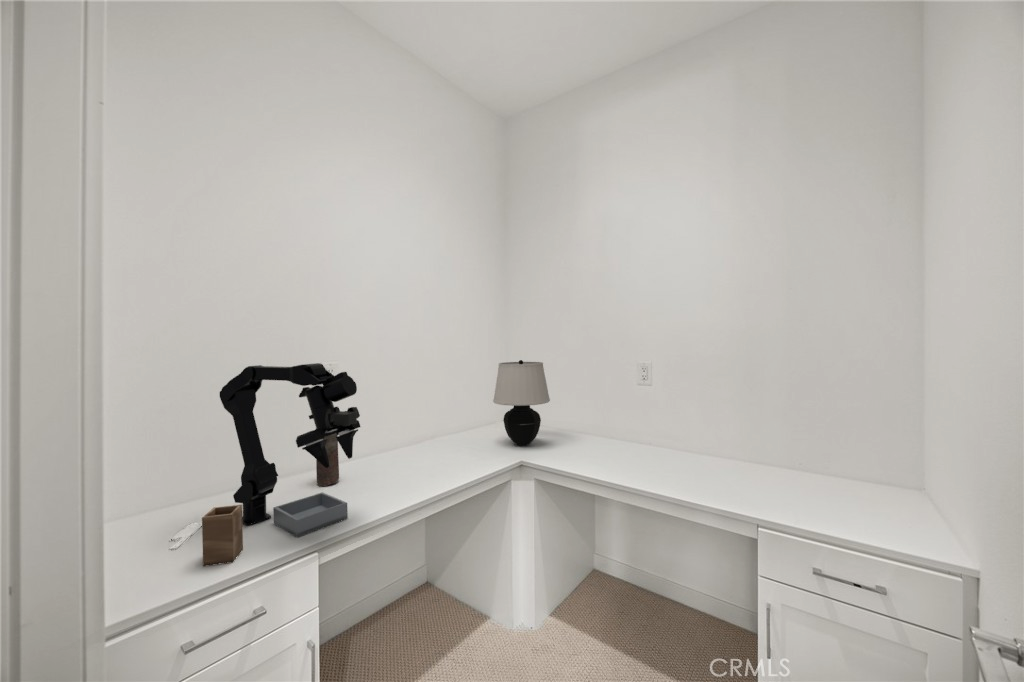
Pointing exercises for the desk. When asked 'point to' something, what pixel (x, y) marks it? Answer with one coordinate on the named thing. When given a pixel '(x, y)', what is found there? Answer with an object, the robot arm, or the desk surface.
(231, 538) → the walnut crate
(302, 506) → the tray
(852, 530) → the desk surface
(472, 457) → the desk surface
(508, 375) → the table lamp
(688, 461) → the desk surface
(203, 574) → the desk surface
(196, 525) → the white angle bracket
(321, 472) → the candle
